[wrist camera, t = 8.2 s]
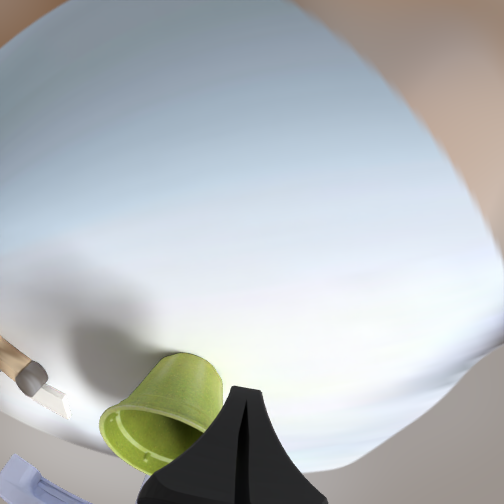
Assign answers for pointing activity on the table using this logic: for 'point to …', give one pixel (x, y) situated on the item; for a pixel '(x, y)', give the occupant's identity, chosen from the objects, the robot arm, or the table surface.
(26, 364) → the oak arm
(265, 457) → the robot arm
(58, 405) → the mounting plate
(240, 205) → the table surface
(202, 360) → the plant pot
